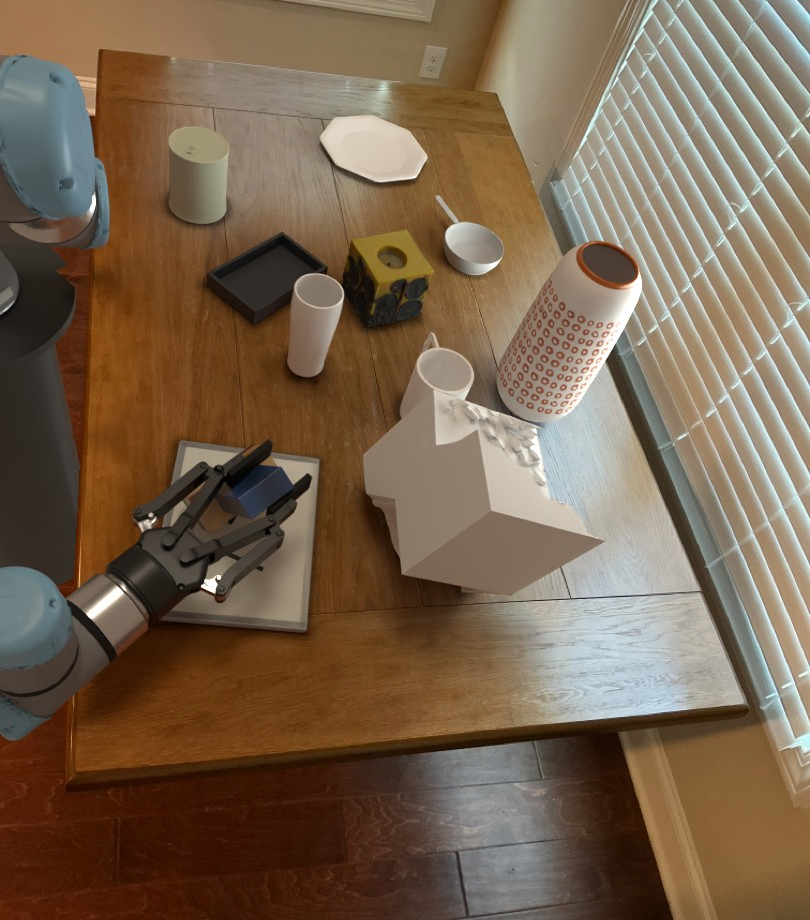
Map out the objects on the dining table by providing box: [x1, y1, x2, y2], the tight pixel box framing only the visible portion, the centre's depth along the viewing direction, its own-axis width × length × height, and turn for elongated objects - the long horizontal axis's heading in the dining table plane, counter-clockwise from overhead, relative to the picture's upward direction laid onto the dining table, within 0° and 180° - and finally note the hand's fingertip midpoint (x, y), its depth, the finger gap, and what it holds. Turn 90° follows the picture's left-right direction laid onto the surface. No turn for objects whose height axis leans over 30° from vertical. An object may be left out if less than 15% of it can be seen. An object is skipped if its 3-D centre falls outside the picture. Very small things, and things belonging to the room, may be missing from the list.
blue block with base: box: [182, 443, 294, 533], centre depth 87 cm, size 11×5×13 cm
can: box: [167, 125, 230, 225], centre depth 119 cm, size 9×9×12 cm
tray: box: [205, 231, 329, 325], centre depth 117 cm, size 16×10×3 cm, turn 141°
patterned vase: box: [496, 240, 643, 423], centre depth 106 cm, size 13×13×28 cm
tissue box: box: [362, 390, 607, 597], centre depth 90 cm, size 20×16×25 cm
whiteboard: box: [159, 439, 321, 634], centre depth 92 cm, size 18×24×1 cm
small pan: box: [433, 195, 505, 276], centre depth 133 cm, size 11×18×4 cm, turn 32°
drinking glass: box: [286, 273, 345, 378], centre depth 105 cm, size 7×7×15 cm
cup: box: [399, 331, 475, 419], centre depth 108 cm, size 8×12×10 cm
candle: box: [340, 229, 435, 328], centre depth 118 cm, size 10×10×10 cm
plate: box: [318, 114, 428, 184], centre depth 144 cm, size 20×20×2 cm
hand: (288, 464), depth 87 cm, fingers closed on blue block with base, 5 cm apart
